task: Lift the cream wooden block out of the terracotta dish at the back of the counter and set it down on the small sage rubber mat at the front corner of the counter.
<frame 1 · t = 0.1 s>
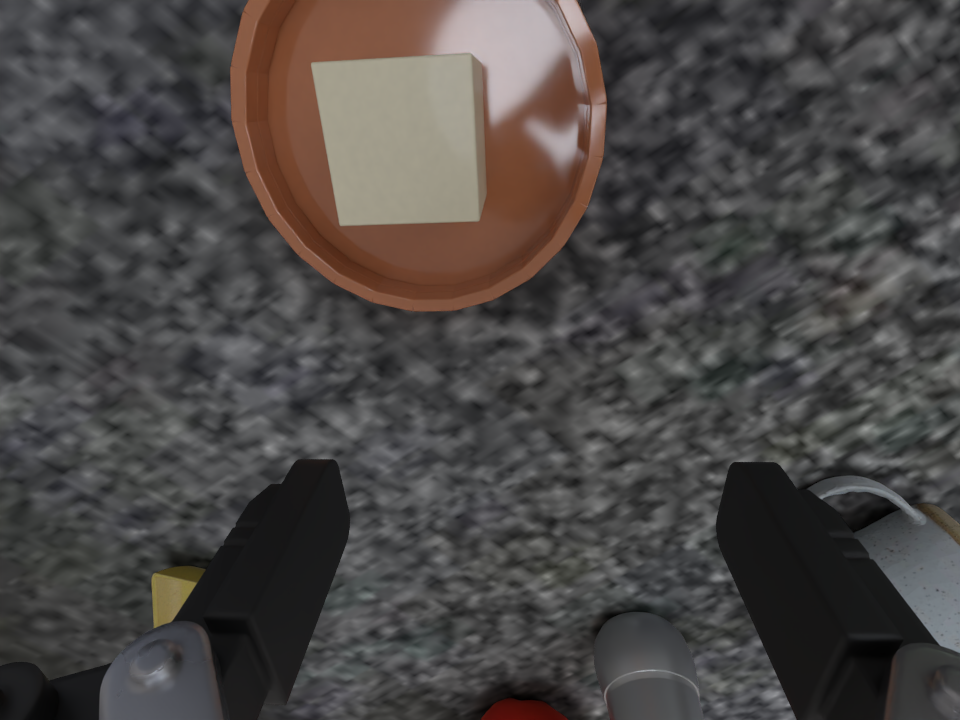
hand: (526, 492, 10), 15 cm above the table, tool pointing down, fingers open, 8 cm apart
tomato: (524, 711, 42), on the table
ceramic mug: (851, 528, 30), on the table
terracotta dish: (426, 134, 21), on the table
block: (424, 135, 21), point 1 cm above the table, touching terracotta dish
saucer: (230, 597, 37), on the table
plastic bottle: (635, 625, 36), on the table
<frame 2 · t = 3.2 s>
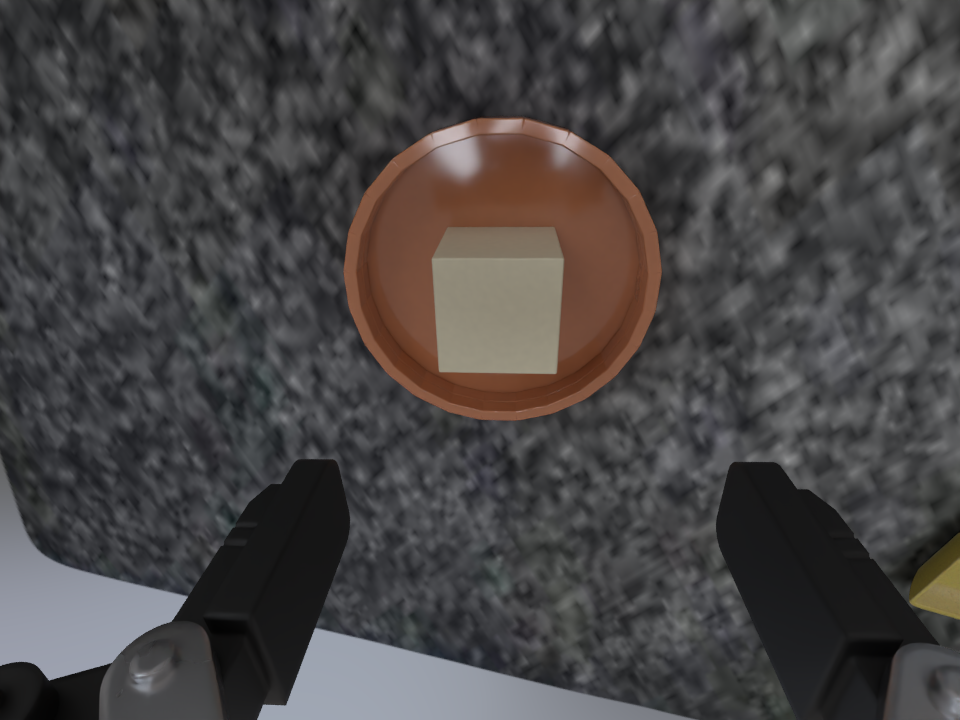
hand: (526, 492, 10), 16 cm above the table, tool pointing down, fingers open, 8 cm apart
terracotta dish: (500, 274, 25), on the table
block: (500, 278, 24), point 1 cm above the table, touching terracotta dish
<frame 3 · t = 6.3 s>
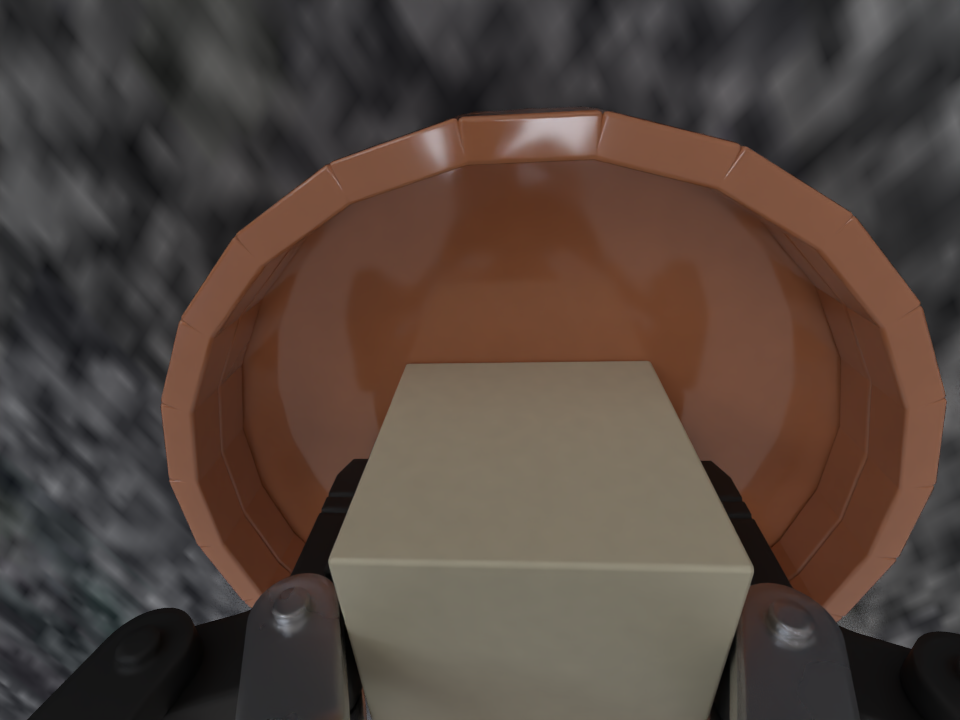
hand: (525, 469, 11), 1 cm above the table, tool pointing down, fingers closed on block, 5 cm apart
terracotta dish: (526, 440, 12), on the table
block: (526, 457, 11), point 1 cm above the table, touching gripper, terracotta dish
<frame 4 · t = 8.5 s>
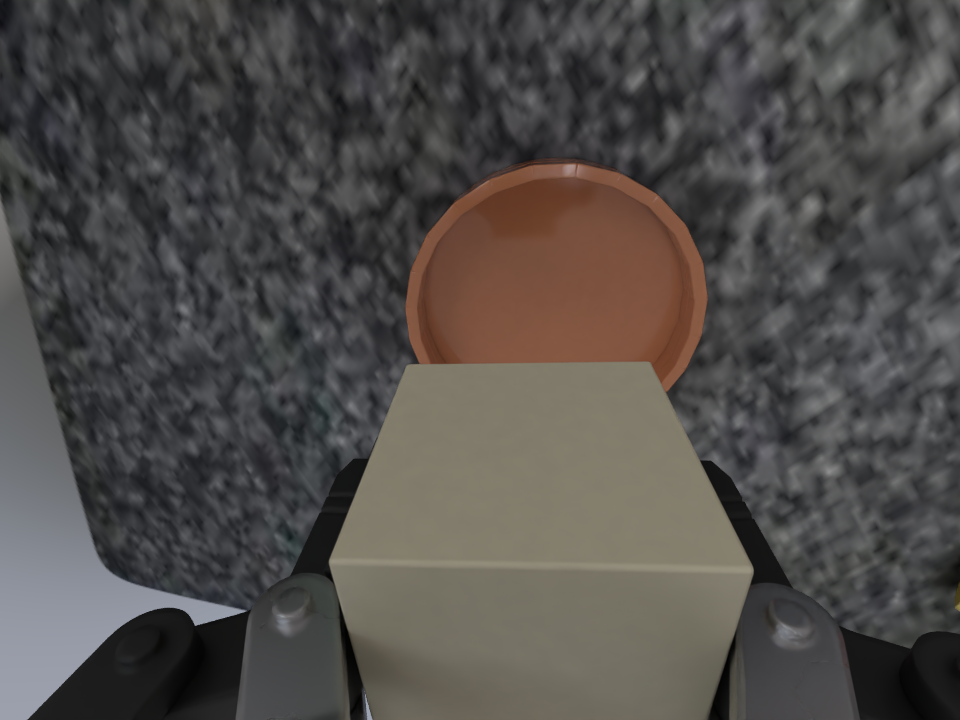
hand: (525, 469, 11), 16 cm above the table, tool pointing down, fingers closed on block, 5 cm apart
terracotta dish: (549, 302, 26), on the table
block: (526, 457, 11), point 16 cm above the table, touching gripper
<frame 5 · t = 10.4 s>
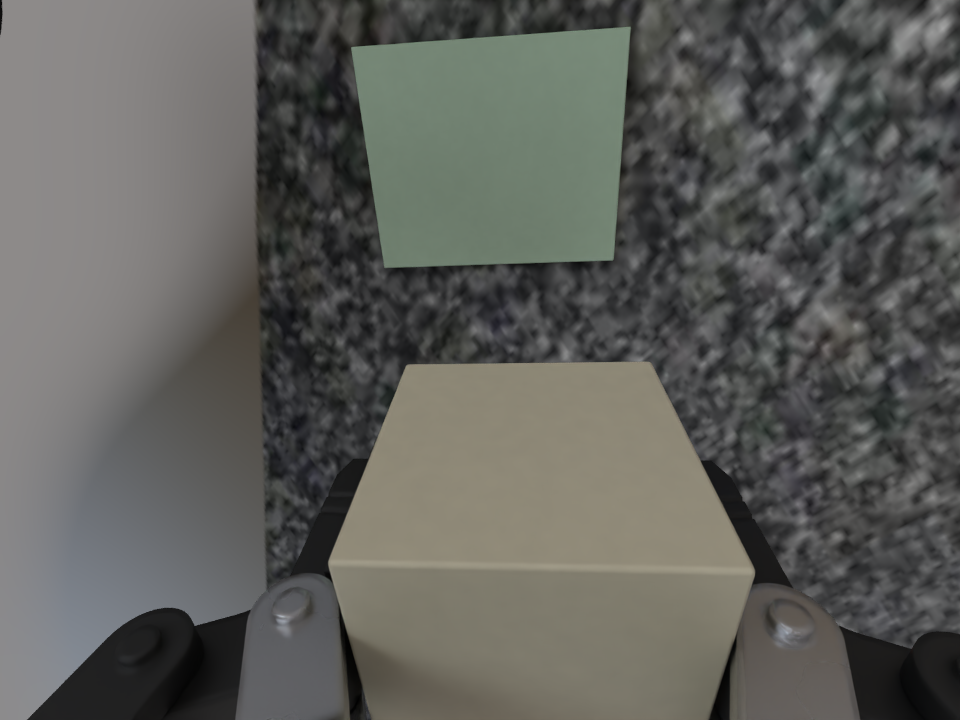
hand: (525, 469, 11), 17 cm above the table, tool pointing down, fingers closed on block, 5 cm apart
block: (526, 457, 11), point 17 cm above the table, touching gripper
mat: (492, 160, 24), on the table
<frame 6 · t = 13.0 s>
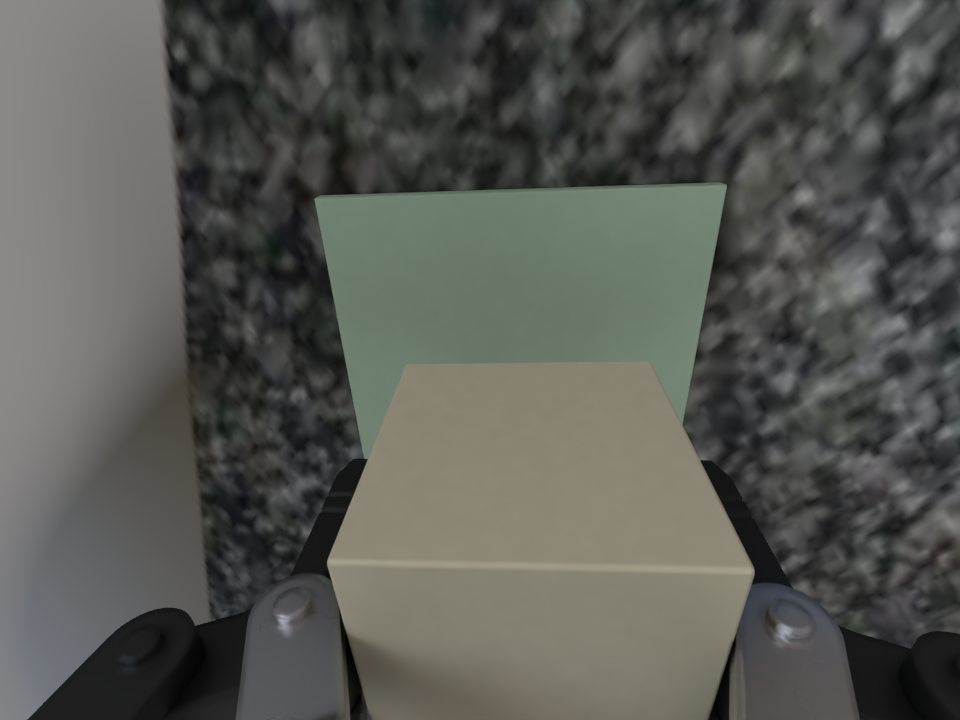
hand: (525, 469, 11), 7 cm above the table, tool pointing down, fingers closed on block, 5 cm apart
block: (526, 457, 11), point 7 cm above the table, touching gripper
mat: (515, 339, 17), on the table
when the fingers open (1 cm above the table, at t = 14.9 s): block stays where it is, resting on mat.
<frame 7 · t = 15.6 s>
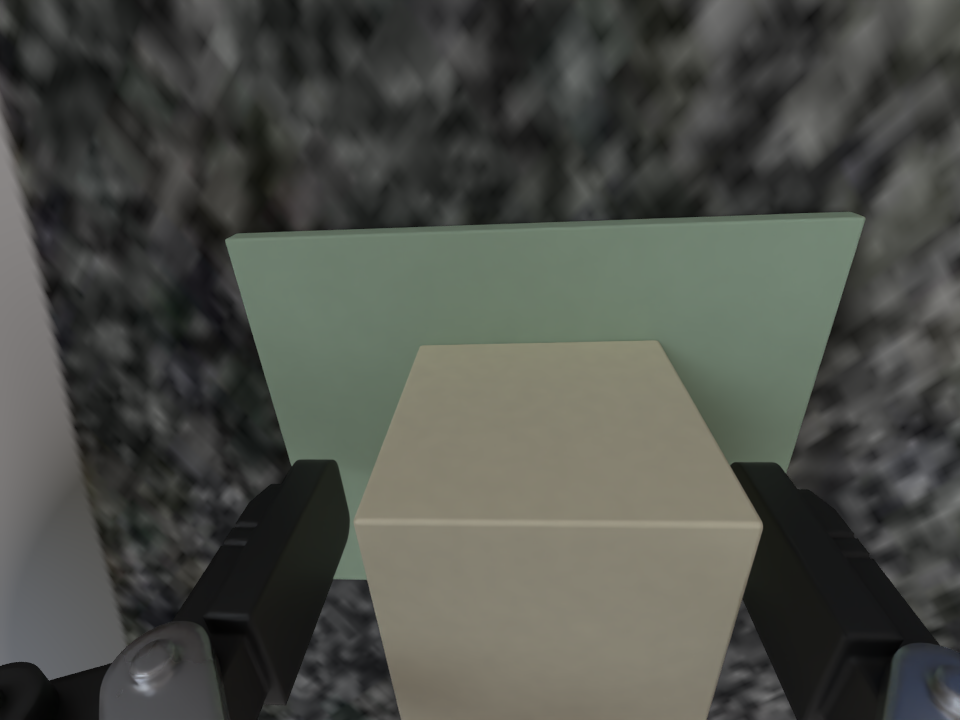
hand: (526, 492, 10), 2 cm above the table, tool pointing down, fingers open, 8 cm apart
block: (536, 437, 12), resting on mat
mat: (529, 429, 12), on the table
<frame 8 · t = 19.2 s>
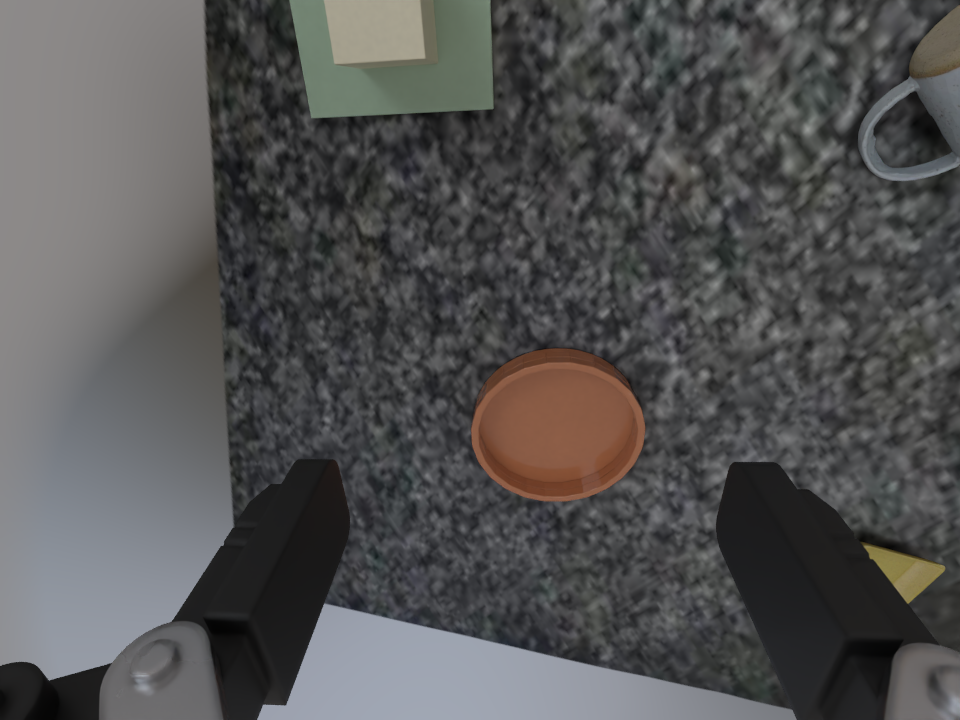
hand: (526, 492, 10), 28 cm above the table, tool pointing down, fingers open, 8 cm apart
ceramic mug: (942, 95, 30), on the table
terracotta dish: (554, 420, 43), on the table
block: (393, 17, 30), resting on mat
saucer: (862, 566, 50), on the table
mat: (392, 22, 30), on the table
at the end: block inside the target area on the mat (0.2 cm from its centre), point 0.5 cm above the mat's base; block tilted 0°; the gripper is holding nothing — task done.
